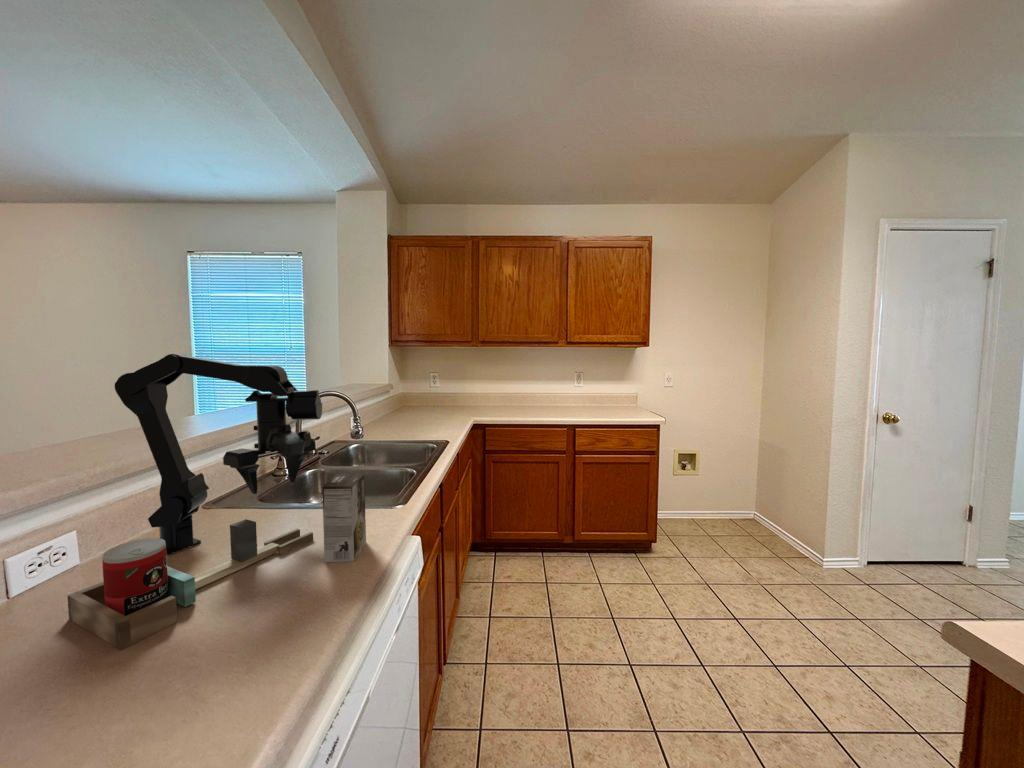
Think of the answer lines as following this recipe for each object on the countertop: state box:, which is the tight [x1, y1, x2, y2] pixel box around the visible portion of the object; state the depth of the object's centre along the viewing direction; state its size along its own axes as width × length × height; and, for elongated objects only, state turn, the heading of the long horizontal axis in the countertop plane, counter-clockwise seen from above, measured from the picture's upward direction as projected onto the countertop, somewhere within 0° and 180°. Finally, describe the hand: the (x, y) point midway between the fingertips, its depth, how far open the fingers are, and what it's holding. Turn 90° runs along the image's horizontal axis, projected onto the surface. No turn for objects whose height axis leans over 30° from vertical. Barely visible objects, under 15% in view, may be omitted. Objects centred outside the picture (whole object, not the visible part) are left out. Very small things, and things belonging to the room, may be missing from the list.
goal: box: [66, 581, 178, 651], centre depth 65 cm, size 16×7×4 cm, turn 65°
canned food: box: [102, 537, 169, 616], centre depth 67 cm, size 8×8×11 cm
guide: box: [263, 528, 314, 556], centre depth 92 cm, size 5×8×2 cm
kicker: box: [167, 518, 279, 608], centre depth 80 cm, size 11×20×8 cm, turn 155°
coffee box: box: [321, 473, 367, 563], centre depth 88 cm, size 9×6×16 cm
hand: (274, 487), depth 95 cm, fingers open, 9 cm apart
